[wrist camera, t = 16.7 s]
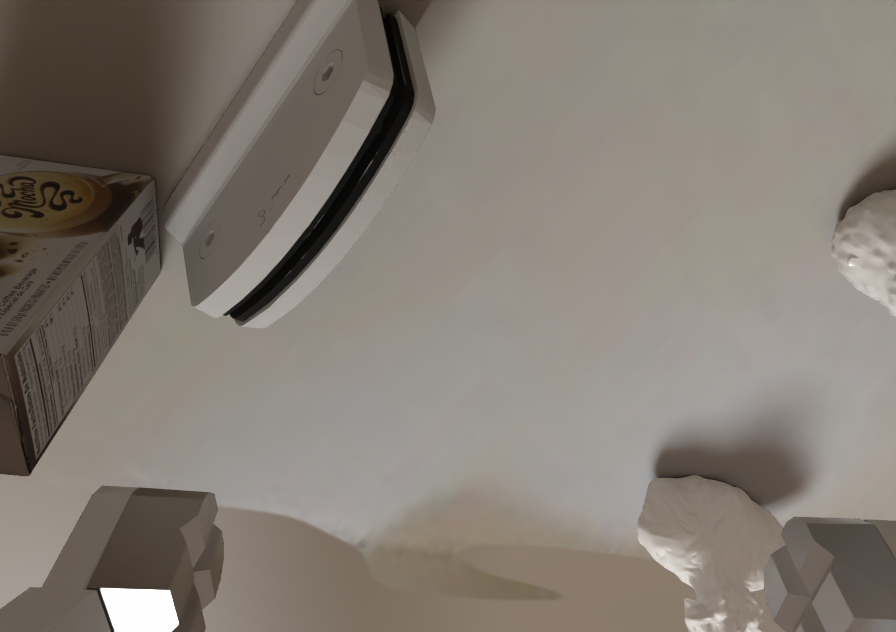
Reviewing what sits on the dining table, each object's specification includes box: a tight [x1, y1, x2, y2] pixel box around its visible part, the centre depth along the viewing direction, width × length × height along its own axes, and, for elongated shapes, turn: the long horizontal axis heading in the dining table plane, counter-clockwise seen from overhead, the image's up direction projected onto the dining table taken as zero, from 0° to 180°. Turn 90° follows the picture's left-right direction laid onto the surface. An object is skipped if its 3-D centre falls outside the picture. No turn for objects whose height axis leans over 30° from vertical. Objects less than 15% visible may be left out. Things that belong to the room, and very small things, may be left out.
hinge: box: [164, 0, 435, 328], centre depth 34 cm, size 17×5×10 cm, turn 141°
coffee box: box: [0, 155, 161, 476], centre depth 33 cm, size 9×6×16 cm
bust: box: [637, 475, 785, 632], centre depth 49 cm, size 12×8×11 cm
